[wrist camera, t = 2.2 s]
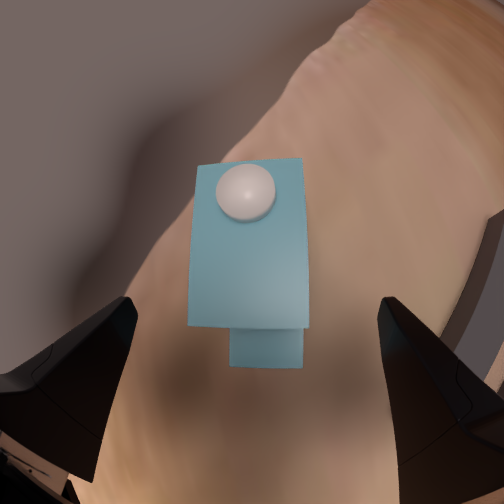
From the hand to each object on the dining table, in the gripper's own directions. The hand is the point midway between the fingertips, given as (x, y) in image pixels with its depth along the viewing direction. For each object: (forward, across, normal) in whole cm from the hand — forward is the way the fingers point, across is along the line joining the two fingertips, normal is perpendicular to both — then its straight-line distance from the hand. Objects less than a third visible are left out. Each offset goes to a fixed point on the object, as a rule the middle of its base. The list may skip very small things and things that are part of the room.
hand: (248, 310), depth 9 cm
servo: (+8, 0, +5) cm, 10 cm away
